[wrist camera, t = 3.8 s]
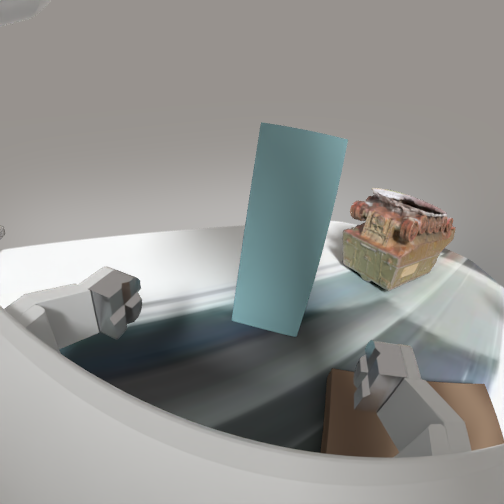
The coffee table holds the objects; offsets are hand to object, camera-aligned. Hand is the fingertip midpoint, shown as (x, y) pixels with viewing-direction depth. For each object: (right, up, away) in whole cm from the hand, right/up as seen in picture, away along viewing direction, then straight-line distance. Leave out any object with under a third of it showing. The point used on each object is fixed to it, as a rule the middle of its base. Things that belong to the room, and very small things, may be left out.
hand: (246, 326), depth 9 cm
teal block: (+2, -2, +13) cm, 14 cm away
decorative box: (+19, +1, +26) cm, 33 cm away
